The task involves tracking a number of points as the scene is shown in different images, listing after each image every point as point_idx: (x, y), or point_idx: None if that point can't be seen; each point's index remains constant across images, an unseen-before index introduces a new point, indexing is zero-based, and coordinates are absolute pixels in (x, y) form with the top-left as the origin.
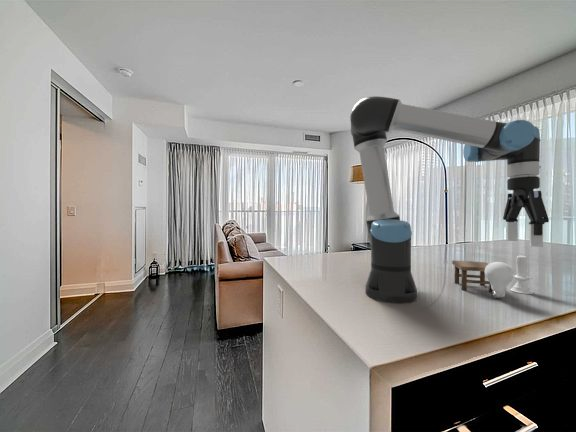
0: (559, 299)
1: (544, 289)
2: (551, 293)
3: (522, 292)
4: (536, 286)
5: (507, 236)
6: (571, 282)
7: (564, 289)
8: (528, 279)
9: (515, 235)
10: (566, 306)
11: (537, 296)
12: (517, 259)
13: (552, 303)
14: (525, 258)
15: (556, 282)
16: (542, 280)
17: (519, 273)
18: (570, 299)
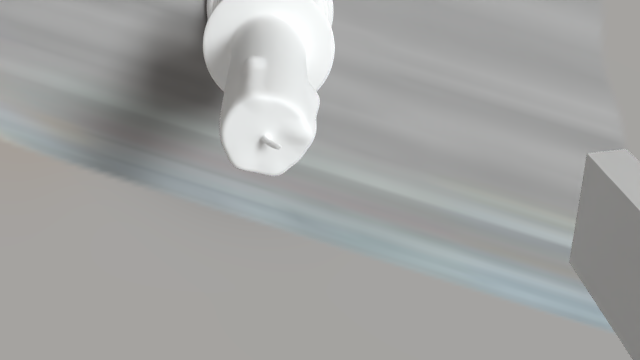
0: (181, 157)
1: (389, 162)
2: (304, 164)
3: (213, 2)
4: (452, 145)
5: (637, 194)
6: (597, 327)
7: (427, 251)
8: (224, 76)
9: (616, 305)
10: (43, 138)
11: (186, 68)
12: (243, 78)
13: (62, 93)
14: (224, 147)
15: None
16: None
17: (240, 39)
18: (213, 204)
